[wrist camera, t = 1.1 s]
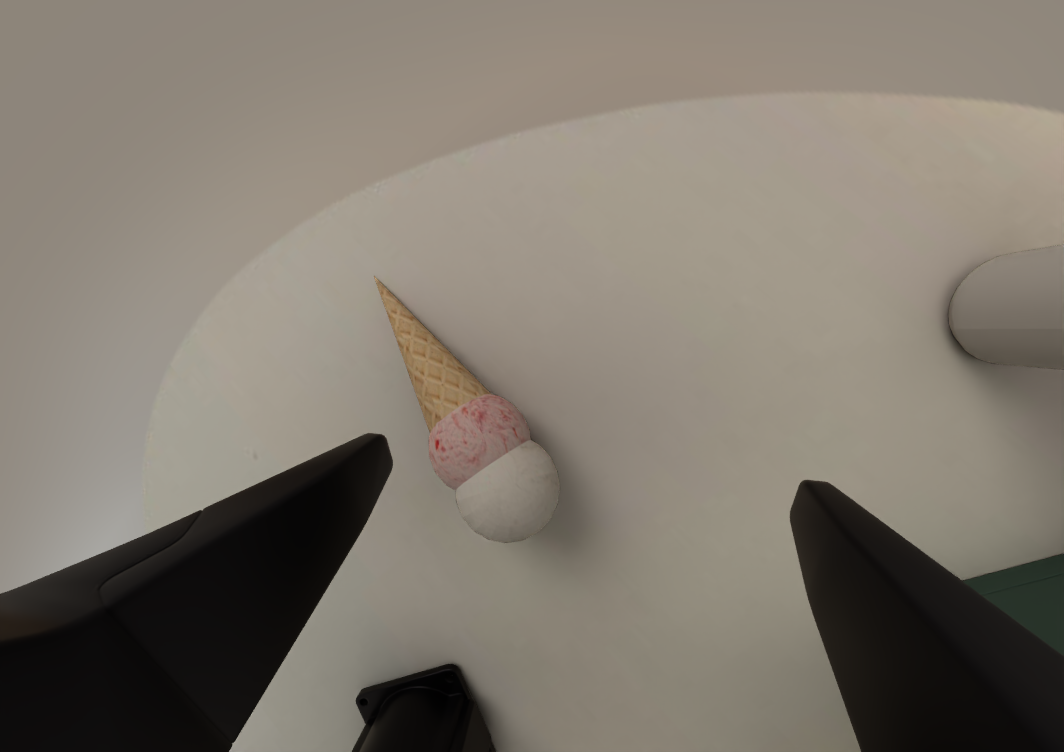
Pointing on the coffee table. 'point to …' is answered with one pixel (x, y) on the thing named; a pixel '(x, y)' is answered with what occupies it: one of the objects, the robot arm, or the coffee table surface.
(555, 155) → the coffee table surface
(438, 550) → the coffee table surface
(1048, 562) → the open storage bin
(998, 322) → the beverage can
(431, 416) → the ice cream cone
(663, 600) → the coffee table surface
